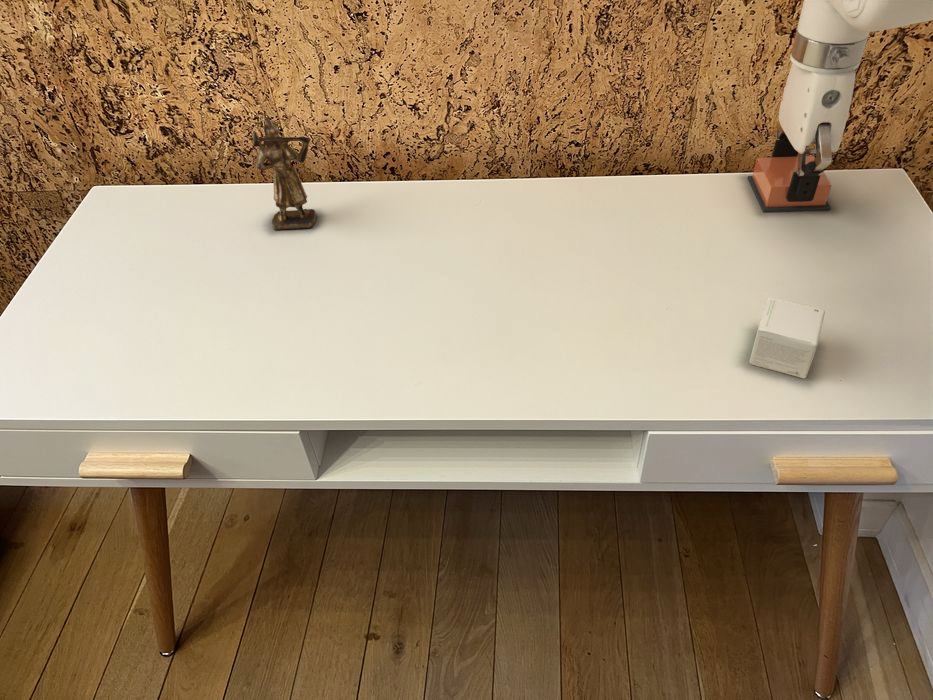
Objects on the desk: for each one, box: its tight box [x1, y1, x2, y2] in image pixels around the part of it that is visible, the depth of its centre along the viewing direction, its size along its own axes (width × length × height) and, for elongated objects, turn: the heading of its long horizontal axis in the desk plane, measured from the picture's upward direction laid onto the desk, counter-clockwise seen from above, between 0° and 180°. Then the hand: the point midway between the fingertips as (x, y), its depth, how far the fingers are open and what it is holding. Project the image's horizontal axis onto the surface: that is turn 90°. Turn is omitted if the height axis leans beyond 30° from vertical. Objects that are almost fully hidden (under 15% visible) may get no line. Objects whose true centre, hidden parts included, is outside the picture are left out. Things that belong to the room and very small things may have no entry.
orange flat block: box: [751, 155, 832, 207], centre depth 96 cm, size 7×7×3 cm
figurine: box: [247, 116, 318, 231], centre depth 94 cm, size 7×4×15 cm, turn 89°
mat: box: [747, 175, 832, 213], centre depth 97 cm, size 8×8×1 cm
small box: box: [749, 297, 826, 379], centre depth 74 cm, size 6×6×5 cm
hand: (790, 182), depth 96 cm, fingers closed on orange flat block, 7 cm apart
